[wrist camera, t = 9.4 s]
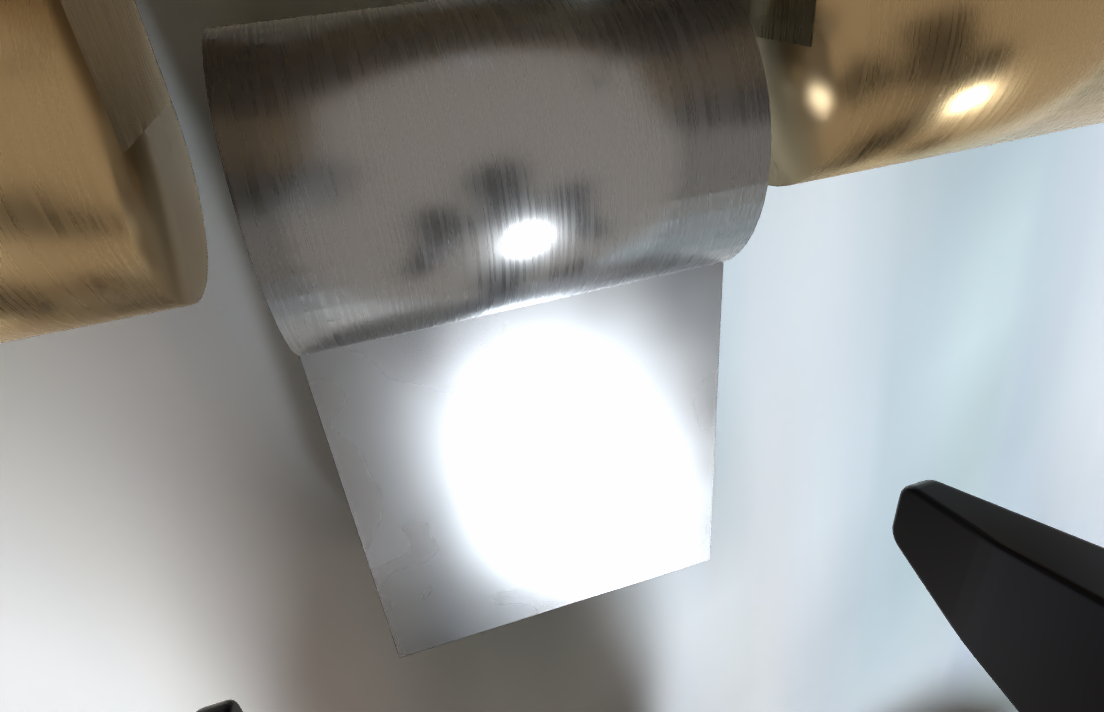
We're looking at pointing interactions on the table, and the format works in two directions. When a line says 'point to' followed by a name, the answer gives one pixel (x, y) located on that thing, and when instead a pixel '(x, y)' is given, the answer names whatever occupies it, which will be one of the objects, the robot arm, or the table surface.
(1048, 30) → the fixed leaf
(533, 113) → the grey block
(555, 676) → the table surface
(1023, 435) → the table surface
